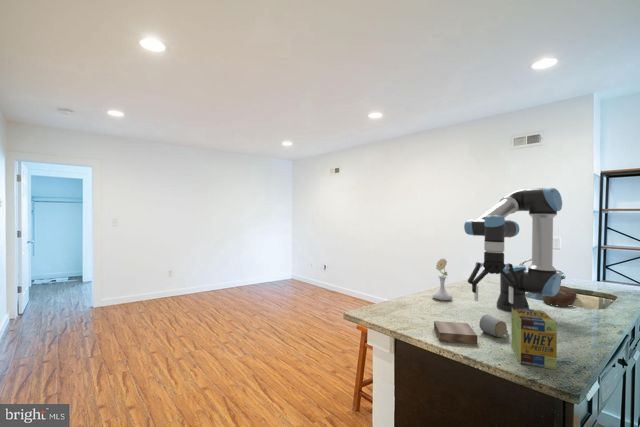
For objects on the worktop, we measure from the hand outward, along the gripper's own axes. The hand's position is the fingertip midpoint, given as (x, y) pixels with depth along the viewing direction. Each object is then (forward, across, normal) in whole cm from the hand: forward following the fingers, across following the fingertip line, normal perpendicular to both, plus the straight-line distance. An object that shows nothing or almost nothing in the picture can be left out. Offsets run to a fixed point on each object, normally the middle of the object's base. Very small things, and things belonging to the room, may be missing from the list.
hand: (493, 301), depth 134 cm
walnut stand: (+14, +17, +6) cm, 22 cm away
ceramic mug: (+14, -1, -1) cm, 14 cm away
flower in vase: (+14, +11, -53) cm, 56 cm away
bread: (+13, -58, -67) cm, 90 cm away
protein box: (+14, -6, +21) cm, 26 cm away
